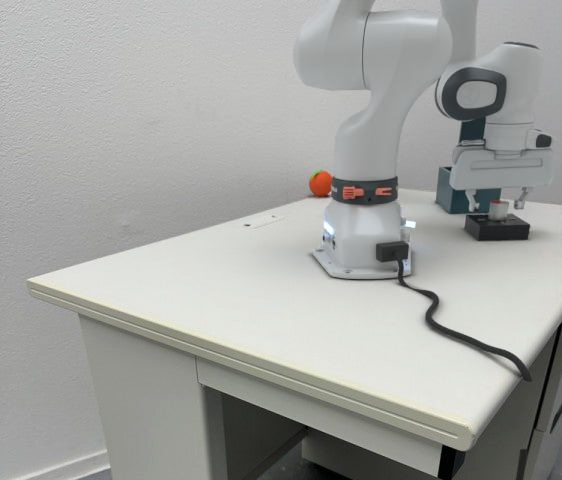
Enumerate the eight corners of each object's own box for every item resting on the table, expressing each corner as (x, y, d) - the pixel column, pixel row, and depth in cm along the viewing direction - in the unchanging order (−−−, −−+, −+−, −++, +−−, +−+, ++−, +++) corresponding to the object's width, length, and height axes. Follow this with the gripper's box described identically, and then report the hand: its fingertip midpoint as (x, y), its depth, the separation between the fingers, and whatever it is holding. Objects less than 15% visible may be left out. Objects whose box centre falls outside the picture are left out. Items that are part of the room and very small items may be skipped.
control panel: (527, 239, 110) (530, 223, 109) (478, 240, 111) (480, 225, 109) (510, 227, 119) (512, 212, 118) (464, 228, 119) (466, 214, 118)
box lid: (464, 100, 120) (465, 100, 119) (517, 98, 119) (519, 98, 119) (454, 173, 128) (455, 174, 127) (503, 171, 128) (504, 172, 127)
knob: (502, 217, 115) (505, 198, 113) (508, 221, 112) (512, 202, 110) (485, 217, 115) (488, 199, 113) (491, 221, 112) (494, 202, 110)
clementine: (320, 200, 151) (320, 173, 148) (301, 197, 156) (301, 171, 152) (338, 195, 156) (338, 169, 153) (319, 192, 161) (319, 167, 157)
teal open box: (435, 201, 145) (439, 166, 141) (479, 200, 145) (484, 165, 141) (449, 213, 132) (454, 175, 128) (497, 212, 132) (504, 174, 128)
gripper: (459, 142, 104) (450, 215, 111) (565, 137, 104) (550, 211, 111) (449, 138, 110) (442, 208, 116) (550, 134, 110) (537, 204, 117)
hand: (495, 209), depth 114 cm, fingers open, 8 cm apart
